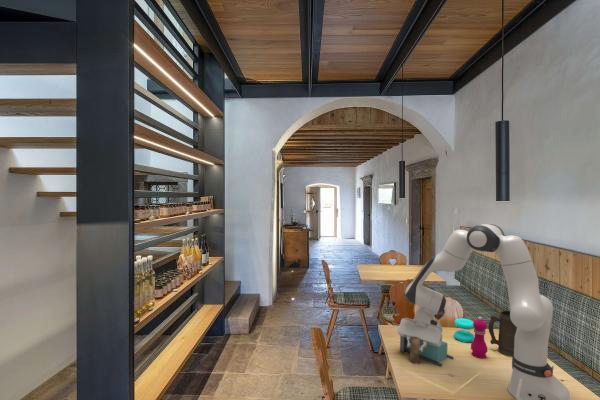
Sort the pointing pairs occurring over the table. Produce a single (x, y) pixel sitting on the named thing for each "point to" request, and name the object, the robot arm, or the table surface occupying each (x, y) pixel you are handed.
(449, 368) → the table surface
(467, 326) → the donuts
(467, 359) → the table surface
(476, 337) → the pepper mill
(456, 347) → the table surface
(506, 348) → the beer stein
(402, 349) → the track
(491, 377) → the table surface
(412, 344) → the dowel
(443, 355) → the socket block
